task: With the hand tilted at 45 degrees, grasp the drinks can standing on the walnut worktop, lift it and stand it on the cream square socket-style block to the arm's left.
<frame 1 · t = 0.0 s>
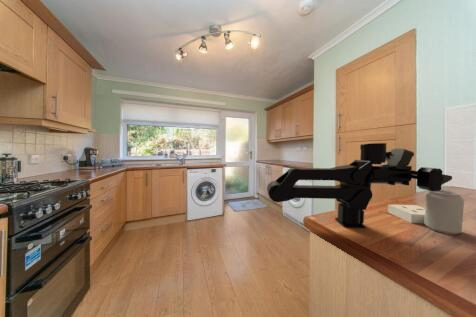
hand: (434, 175, 55), 17 cm above the counter, tool horizontal, fingers open, 9 cm apart
can: (441, 230, 54), on the counter
socket block: (413, 217, 63), on the counter
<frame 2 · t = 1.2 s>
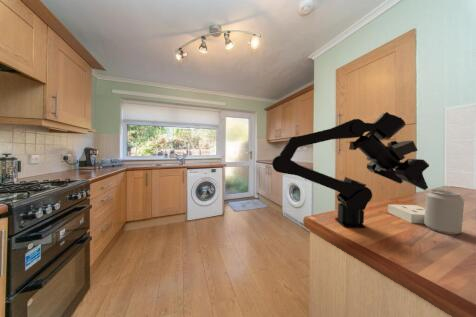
hand: (412, 185, 54), 14 cm above the counter, tool tilted 45°, fingers open, 9 cm apart
nothing on the counter moved.
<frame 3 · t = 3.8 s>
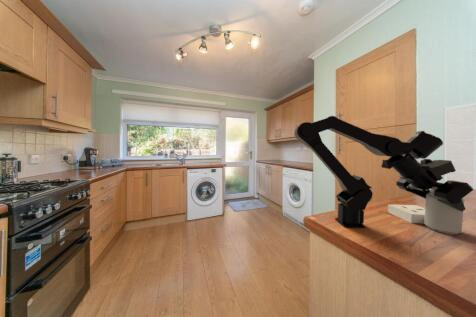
hand: (449, 205, 53), 8 cm above the counter, tool tilted 45°, fingers closed on can, 7 cm apart
can: (441, 230, 54), on the counter, touching gripper
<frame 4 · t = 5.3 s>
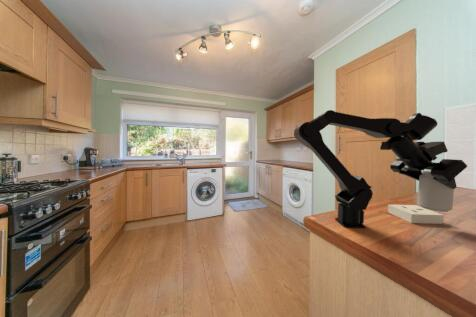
hand: (440, 185, 56), 13 cm above the counter, tool tilted 45°, fingers closed on can, 7 cm apart
can: (433, 209, 56), point 5 cm above the counter, touching gripper
when the fingers open (11 cm above the counter, at t = 6.7 s): can stays where it is, resting on socket block.
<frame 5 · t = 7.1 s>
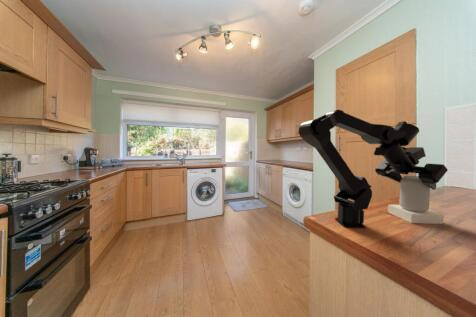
hand: (418, 185, 63), 12 cm above the counter, tool tilted 45°, fingers open, 9 cm apart
can: (413, 209, 63), point 3 cm above the counter, touching socket block
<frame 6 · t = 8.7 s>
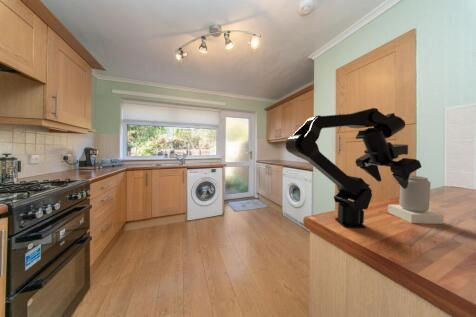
hand: (391, 184, 60), 13 cm above the counter, tool tilted 30°, fingers open, 9 cm apart
nothing on the counter moved.
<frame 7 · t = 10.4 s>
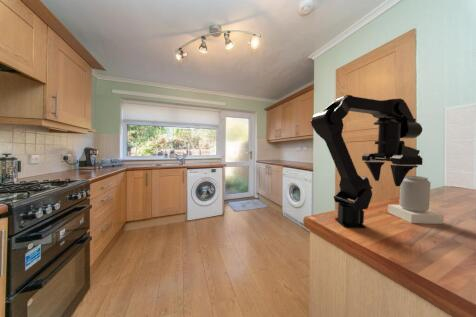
hand: (386, 183, 60), 13 cm above the counter, tool pointing down, fingers open, 9 cm apart
nothing on the counter moved.
at the end: can 0.2 cm from the socket block (horizontally); can touching socket block; can tilted 0° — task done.
